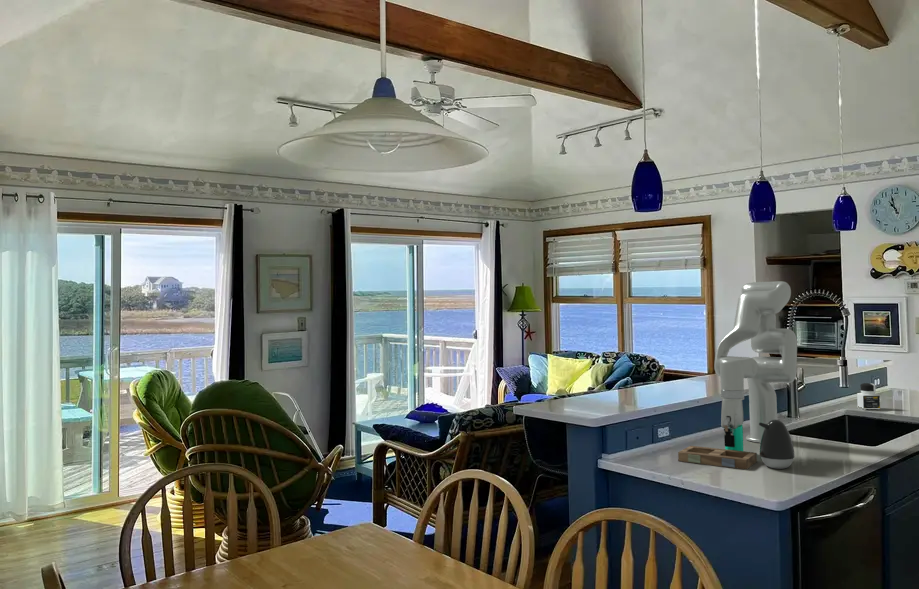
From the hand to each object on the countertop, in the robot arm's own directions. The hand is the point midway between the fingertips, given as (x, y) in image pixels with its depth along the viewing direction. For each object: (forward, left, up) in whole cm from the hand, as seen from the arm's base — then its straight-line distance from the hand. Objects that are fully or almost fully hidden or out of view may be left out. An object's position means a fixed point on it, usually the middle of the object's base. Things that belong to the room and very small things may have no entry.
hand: (734, 444), depth 237 cm
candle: (0, 0, -4) cm, 4 cm away
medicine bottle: (-124, +24, -4) cm, 126 cm away
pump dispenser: (+10, +16, -4) cm, 19 cm away
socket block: (+12, -2, -4) cm, 13 cm away
